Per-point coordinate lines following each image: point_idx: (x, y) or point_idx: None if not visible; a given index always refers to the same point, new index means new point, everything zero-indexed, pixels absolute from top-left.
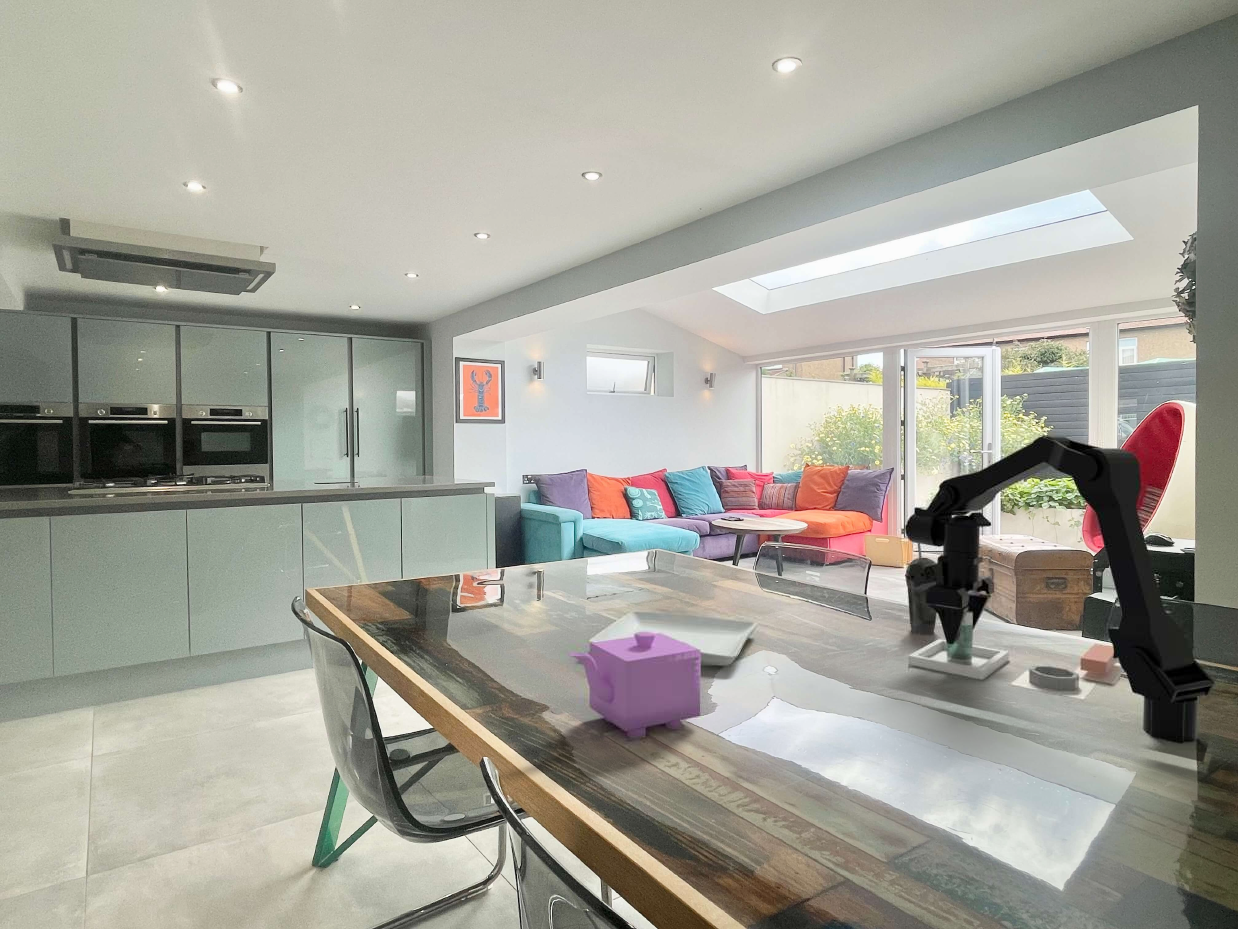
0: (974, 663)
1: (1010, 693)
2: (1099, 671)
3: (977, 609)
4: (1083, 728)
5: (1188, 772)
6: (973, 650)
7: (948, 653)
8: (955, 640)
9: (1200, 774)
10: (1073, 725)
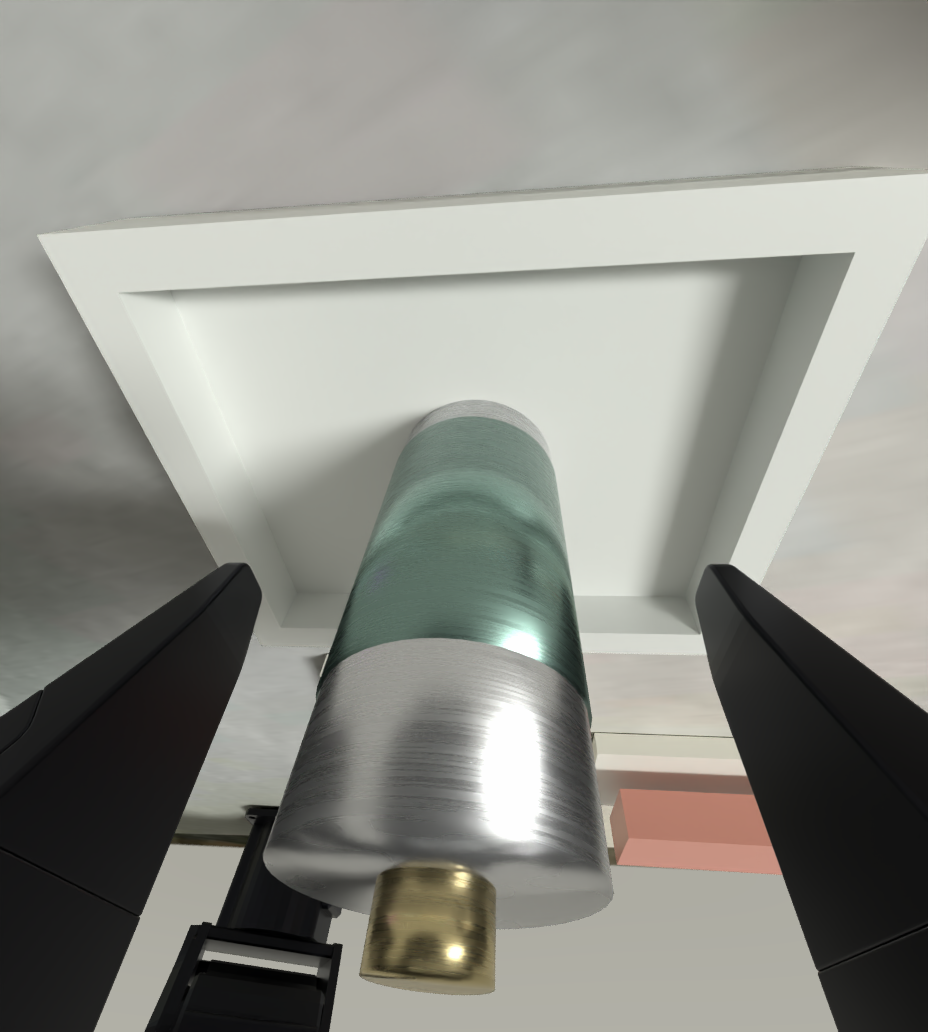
0: None
1: (301, 657)
2: (613, 817)
3: (825, 917)
4: (216, 765)
5: (190, 830)
6: (739, 495)
7: (402, 458)
8: (251, 628)
9: (200, 835)
10: (213, 756)
